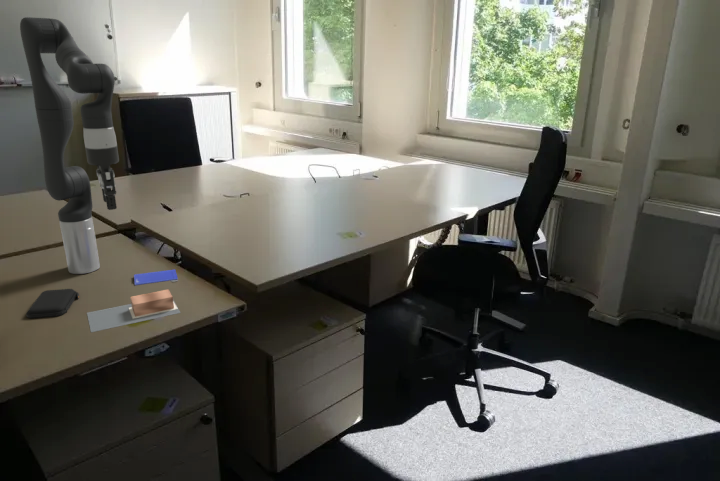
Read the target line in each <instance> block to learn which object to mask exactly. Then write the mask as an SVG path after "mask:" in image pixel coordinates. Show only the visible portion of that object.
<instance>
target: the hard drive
mask: <svg viewBox="0 0 720 481" xmlns="http://www.w3.org/2000/svg"><path fill="white" fill-rule="evenodd" d="M133 281H134V286H140V285H149V284H154V283H161V282H169V281H170V283H174V282H179V278H178V274H177V272H176V269H168V270H159V271H152V272H144V273H136V274H133Z"/></svg>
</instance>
